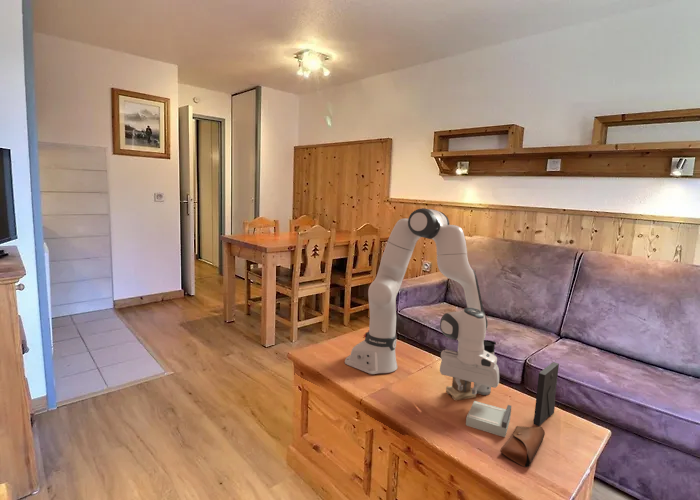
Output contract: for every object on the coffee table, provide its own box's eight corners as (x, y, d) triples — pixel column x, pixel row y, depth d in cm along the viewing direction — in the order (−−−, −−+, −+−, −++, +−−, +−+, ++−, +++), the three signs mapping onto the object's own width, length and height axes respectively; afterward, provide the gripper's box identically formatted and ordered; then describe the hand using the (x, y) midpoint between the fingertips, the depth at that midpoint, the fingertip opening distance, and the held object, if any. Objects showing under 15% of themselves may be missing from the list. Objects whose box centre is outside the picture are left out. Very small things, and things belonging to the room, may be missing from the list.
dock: (465, 425, 127) (466, 411, 127) (473, 408, 138) (474, 395, 137) (505, 437, 122) (506, 422, 121) (510, 419, 132) (511, 405, 131)
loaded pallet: (454, 400, 143) (456, 379, 142) (445, 392, 149) (447, 372, 148) (475, 397, 146) (477, 377, 145) (466, 389, 152) (467, 370, 151)
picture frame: (547, 409, 139) (553, 361, 137) (554, 412, 137) (560, 364, 135) (533, 423, 130) (538, 372, 127) (540, 426, 128) (546, 375, 126)
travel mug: (492, 396, 147) (497, 345, 144) (474, 394, 148) (478, 343, 146) (490, 388, 153) (494, 339, 150) (472, 386, 154) (476, 337, 152)
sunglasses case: (515, 424, 126) (530, 413, 123) (533, 443, 124) (548, 432, 120) (498, 451, 112) (514, 440, 109) (517, 474, 109) (534, 463, 106)
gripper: (438, 351, 141) (436, 387, 142) (499, 364, 131) (495, 403, 133) (443, 345, 146) (441, 380, 148) (501, 358, 136) (498, 395, 138)
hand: (467, 391), depth 140 cm, fingers open, 3 cm apart
